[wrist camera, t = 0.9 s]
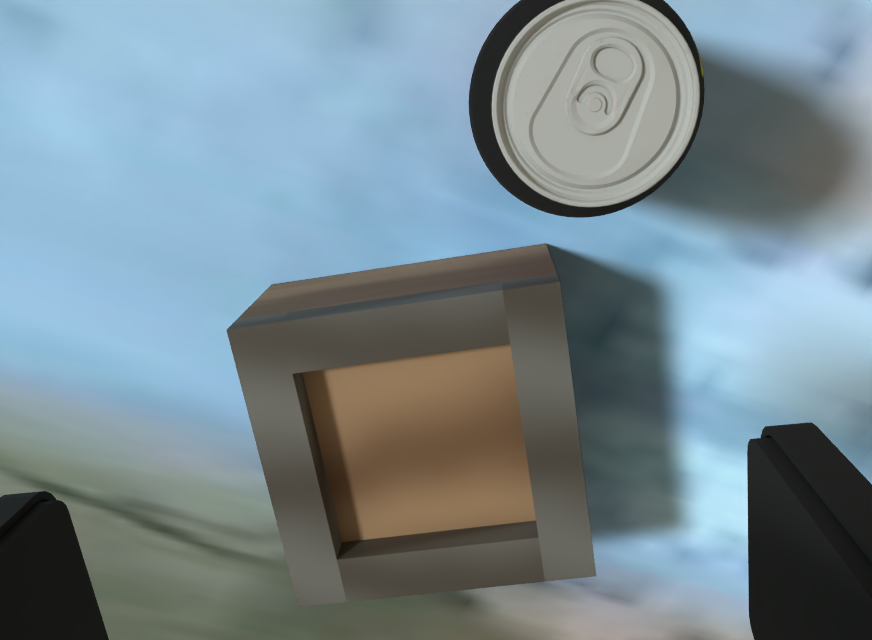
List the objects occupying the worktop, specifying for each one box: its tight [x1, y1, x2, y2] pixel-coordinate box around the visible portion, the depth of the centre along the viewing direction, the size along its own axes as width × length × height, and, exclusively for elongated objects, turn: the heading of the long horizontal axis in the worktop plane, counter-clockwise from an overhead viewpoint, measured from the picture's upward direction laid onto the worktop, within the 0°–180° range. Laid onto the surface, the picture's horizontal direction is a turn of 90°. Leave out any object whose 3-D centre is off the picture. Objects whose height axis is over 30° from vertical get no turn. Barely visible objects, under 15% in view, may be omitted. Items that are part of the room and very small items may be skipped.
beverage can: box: [469, 0, 704, 217], centre depth 25 cm, size 6×6×12 cm
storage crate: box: [227, 244, 596, 607], centre depth 32 cm, size 12×12×6 cm
